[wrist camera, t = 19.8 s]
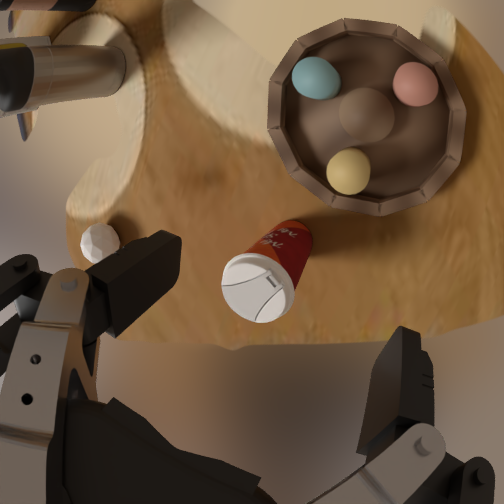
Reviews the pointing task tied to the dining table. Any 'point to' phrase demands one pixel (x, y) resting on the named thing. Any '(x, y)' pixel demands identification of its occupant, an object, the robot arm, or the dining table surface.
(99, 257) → the geometric ball
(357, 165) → the ochre bead
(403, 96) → the pink rounded piece
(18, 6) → the travel mug
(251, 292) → the paper cup
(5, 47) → the supplement box
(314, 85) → the pale blue rounded piece
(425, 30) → the dining table surface
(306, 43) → the walnut tray
